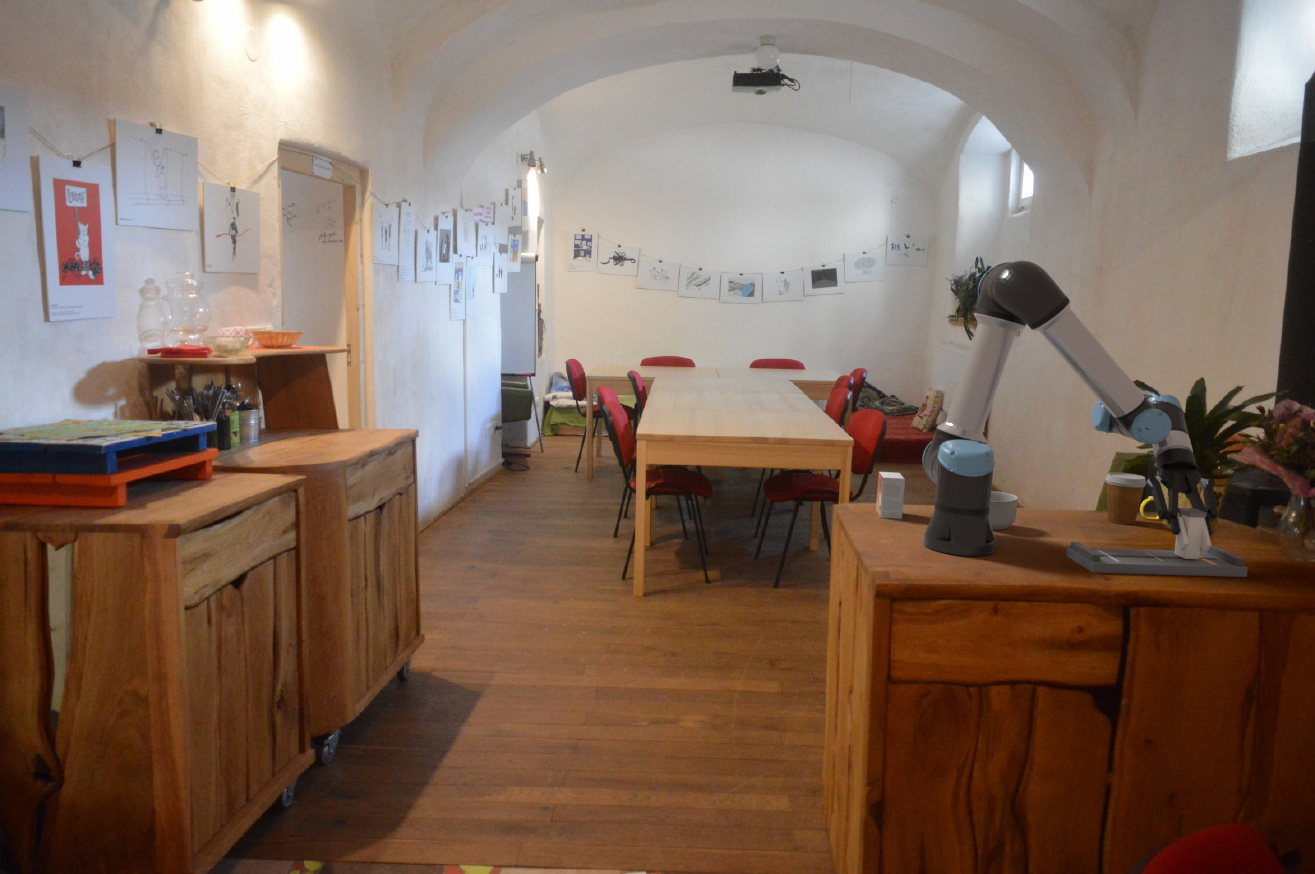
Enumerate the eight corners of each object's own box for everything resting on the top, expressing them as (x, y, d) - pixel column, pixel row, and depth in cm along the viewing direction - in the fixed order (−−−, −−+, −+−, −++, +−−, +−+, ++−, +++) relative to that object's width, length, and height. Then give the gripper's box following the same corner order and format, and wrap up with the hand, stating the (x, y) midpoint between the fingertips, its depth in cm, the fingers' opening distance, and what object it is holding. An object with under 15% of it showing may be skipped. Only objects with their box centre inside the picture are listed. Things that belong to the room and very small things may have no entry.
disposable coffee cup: (1138, 519, 238) (1143, 474, 236) (1145, 527, 229) (1150, 480, 227) (1098, 515, 241) (1103, 471, 239) (1103, 523, 232) (1108, 477, 230)
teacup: (1021, 533, 219) (1024, 500, 218) (976, 531, 220) (979, 499, 218) (1001, 519, 233) (1004, 488, 232) (958, 517, 233) (961, 487, 232)
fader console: (1092, 572, 188) (1094, 556, 187) (1066, 556, 200) (1067, 540, 199) (1246, 576, 188) (1248, 560, 188) (1211, 560, 200) (1213, 544, 200)
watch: (1159, 519, 240) (1163, 497, 239) (1164, 521, 237) (1169, 499, 236) (1136, 516, 240) (1140, 494, 239) (1142, 519, 237) (1146, 497, 236)
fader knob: (1184, 558, 191) (1190, 512, 190) (1172, 553, 196) (1178, 507, 194) (1200, 559, 191) (1206, 512, 190) (1188, 553, 196) (1194, 508, 194)
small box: (875, 510, 238) (878, 471, 237) (897, 512, 238) (900, 472, 236) (879, 518, 230) (882, 477, 229) (902, 519, 230) (905, 478, 228)
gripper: (1208, 467, 205) (1232, 559, 191) (1128, 463, 207) (1146, 553, 194) (1221, 448, 199) (1247, 541, 185) (1139, 444, 201) (1158, 535, 188)
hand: (1195, 547), depth 189 cm, fingers closed on fader knob, 4 cm apart
